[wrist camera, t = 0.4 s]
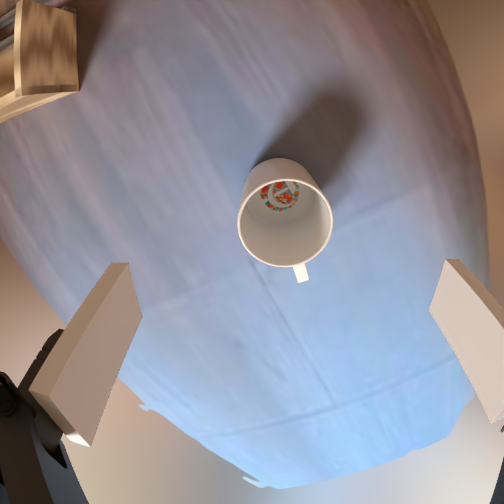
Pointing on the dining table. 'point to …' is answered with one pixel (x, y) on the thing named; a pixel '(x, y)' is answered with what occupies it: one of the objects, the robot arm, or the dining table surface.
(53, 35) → the carcass
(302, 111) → the dining table surface
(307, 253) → the mug
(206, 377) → the dining table surface
